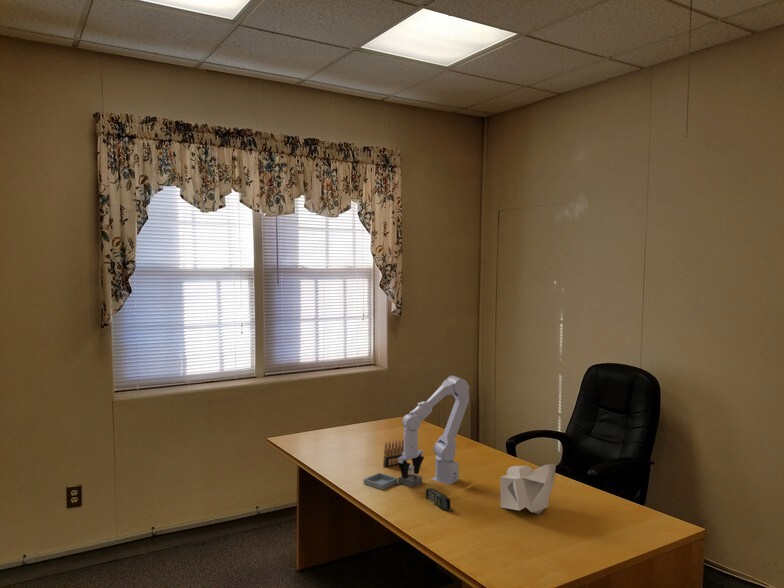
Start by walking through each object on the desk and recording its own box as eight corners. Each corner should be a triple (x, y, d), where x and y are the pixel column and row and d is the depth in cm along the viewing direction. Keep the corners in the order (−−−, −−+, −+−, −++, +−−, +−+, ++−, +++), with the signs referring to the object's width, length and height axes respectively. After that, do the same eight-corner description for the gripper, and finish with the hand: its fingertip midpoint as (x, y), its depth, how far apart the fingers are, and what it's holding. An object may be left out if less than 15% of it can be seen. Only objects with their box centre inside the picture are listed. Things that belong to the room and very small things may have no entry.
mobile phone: (424, 488, 226) (448, 500, 213) (430, 486, 227) (454, 498, 215) (424, 500, 226) (448, 513, 213) (430, 499, 228) (454, 511, 215)
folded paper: (496, 463, 217) (532, 481, 203) (540, 452, 231) (576, 468, 217) (493, 507, 219) (528, 527, 205) (536, 494, 233) (571, 512, 219)
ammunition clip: (403, 463, 268) (403, 438, 267) (405, 464, 266) (405, 439, 266) (383, 467, 263) (383, 441, 262) (385, 468, 261) (385, 442, 260)
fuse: (415, 482, 242) (415, 466, 242) (411, 484, 240) (411, 468, 240) (409, 481, 244) (409, 464, 244) (405, 483, 242) (405, 466, 242)
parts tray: (397, 484, 242) (397, 478, 242) (382, 491, 234) (382, 484, 234) (379, 478, 248) (379, 472, 248) (363, 485, 241) (363, 479, 241)
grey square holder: (422, 483, 243) (422, 476, 243) (412, 488, 237) (412, 481, 237) (408, 479, 247) (408, 472, 247) (398, 484, 242) (398, 477, 242)
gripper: (413, 438, 250) (413, 469, 250) (392, 445, 239) (391, 478, 239) (426, 441, 245) (426, 473, 246) (405, 449, 234) (405, 482, 235)
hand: (410, 475), depth 242 cm, fingers open, 7 cm apart
